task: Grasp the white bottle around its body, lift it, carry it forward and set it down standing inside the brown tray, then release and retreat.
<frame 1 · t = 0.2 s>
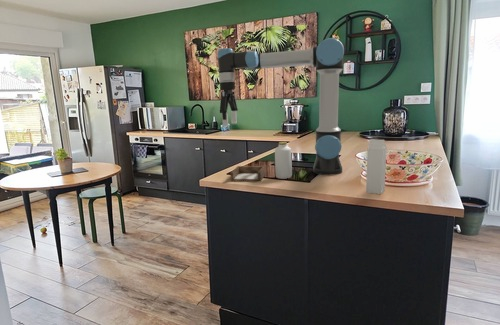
hand: (230, 124, 160), 28 cm above the countertop, fingers open, 13 cm apart
white bottle: (283, 177, 161), on the countertop
brown tray: (248, 177, 164), on the countertop
milk: (375, 191, 132), on the countertop
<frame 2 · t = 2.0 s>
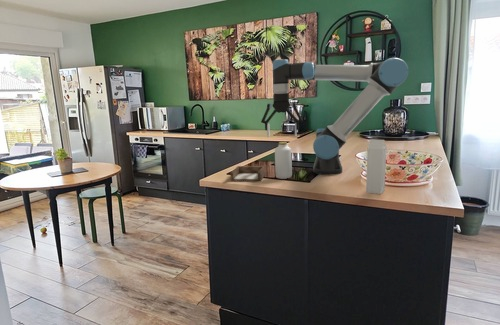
hand: (282, 136, 157), 21 cm above the countertop, fingers open, 13 cm apart
nothing on the countertop moved.
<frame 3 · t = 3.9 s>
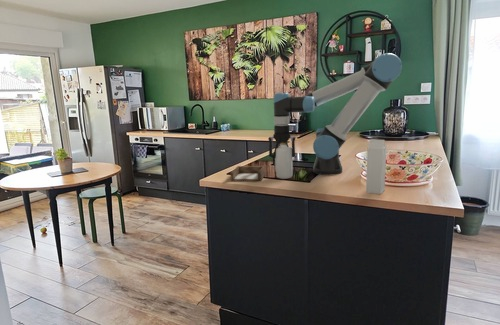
hand: (282, 170, 161), 4 cm above the countertop, fingers open, 6 cm apart
white bottle: (284, 177, 161), on the countertop, touching gripper, hand
everything else where it was.
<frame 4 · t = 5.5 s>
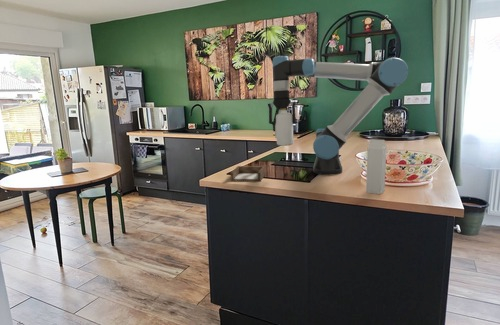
hand: (282, 137, 157), 20 cm above the countertop
white bottle: (285, 145, 157), point 17 cm above the countertop, touching gripper, hand
everything else where it was.
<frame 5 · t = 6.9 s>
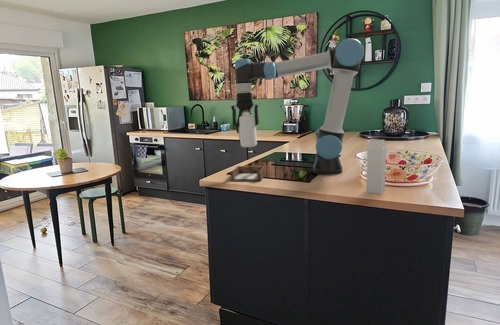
hand: (246, 139, 159), 20 cm above the countertop
white bottle: (248, 146, 160), point 16 cm above the countertop, touching gripper, hand
everything else where it was.
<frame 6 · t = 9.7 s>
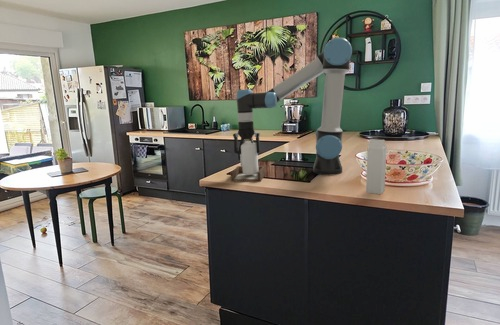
hand: (248, 166, 162), 6 cm above the countertop, fingers open, 6 cm apart
white bottle: (250, 173, 163), point 2 cm above the countertop
everything else where it was.
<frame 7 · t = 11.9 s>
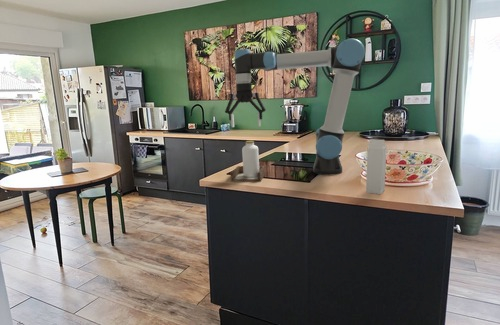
hand: (246, 126, 158), 27 cm above the countertop, fingers open, 13 cm apart
white bottle: (251, 176, 163), point 1 cm above the countertop, touching brown tray
everything else where it was.
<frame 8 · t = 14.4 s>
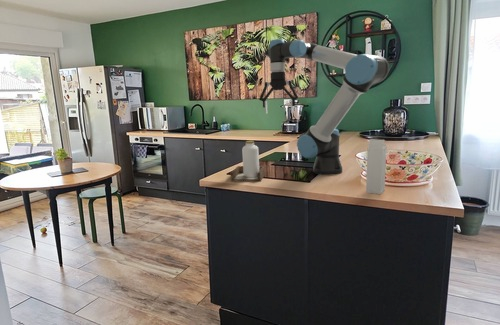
hand: (279, 113, 167), 32 cm above the countertop, fingers open, 13 cm apart
nothing on the countertop moved.
at the end: white bottle inside the target area on the brown tray (1.6 cm from its centre), point 1.0 cm above the brown tray's base; white bottle tilted 0°; the gripper is holding nothing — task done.
